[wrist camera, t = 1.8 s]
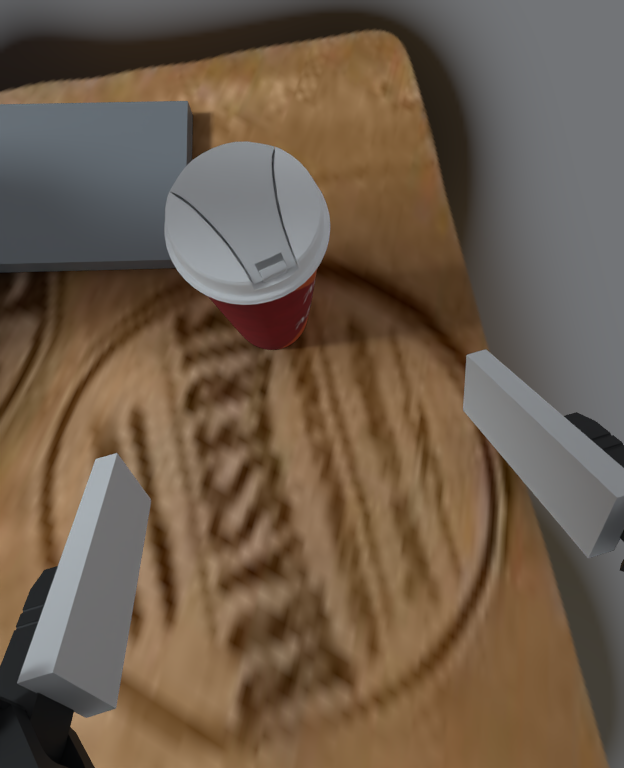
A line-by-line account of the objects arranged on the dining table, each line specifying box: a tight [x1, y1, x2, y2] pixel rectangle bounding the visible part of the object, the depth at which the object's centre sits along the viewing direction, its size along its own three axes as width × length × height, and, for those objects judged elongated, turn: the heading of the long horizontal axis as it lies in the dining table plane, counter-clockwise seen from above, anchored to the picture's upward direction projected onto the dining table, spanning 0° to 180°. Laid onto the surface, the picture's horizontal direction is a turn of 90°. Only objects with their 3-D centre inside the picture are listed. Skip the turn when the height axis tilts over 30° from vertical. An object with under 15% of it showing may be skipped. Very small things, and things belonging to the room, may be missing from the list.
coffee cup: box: [164, 142, 330, 350], centre depth 25 cm, size 8×8×15 cm
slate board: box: [0, 101, 193, 273], centre depth 33 cm, size 18×15×2 cm
